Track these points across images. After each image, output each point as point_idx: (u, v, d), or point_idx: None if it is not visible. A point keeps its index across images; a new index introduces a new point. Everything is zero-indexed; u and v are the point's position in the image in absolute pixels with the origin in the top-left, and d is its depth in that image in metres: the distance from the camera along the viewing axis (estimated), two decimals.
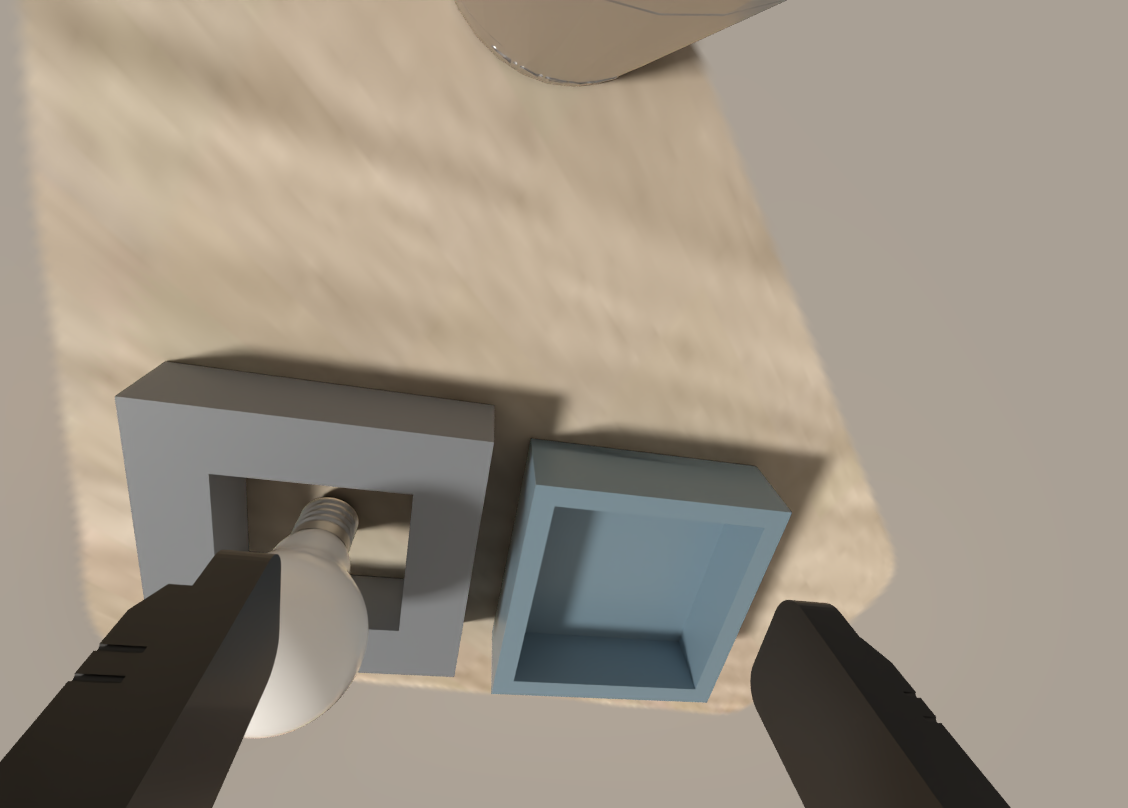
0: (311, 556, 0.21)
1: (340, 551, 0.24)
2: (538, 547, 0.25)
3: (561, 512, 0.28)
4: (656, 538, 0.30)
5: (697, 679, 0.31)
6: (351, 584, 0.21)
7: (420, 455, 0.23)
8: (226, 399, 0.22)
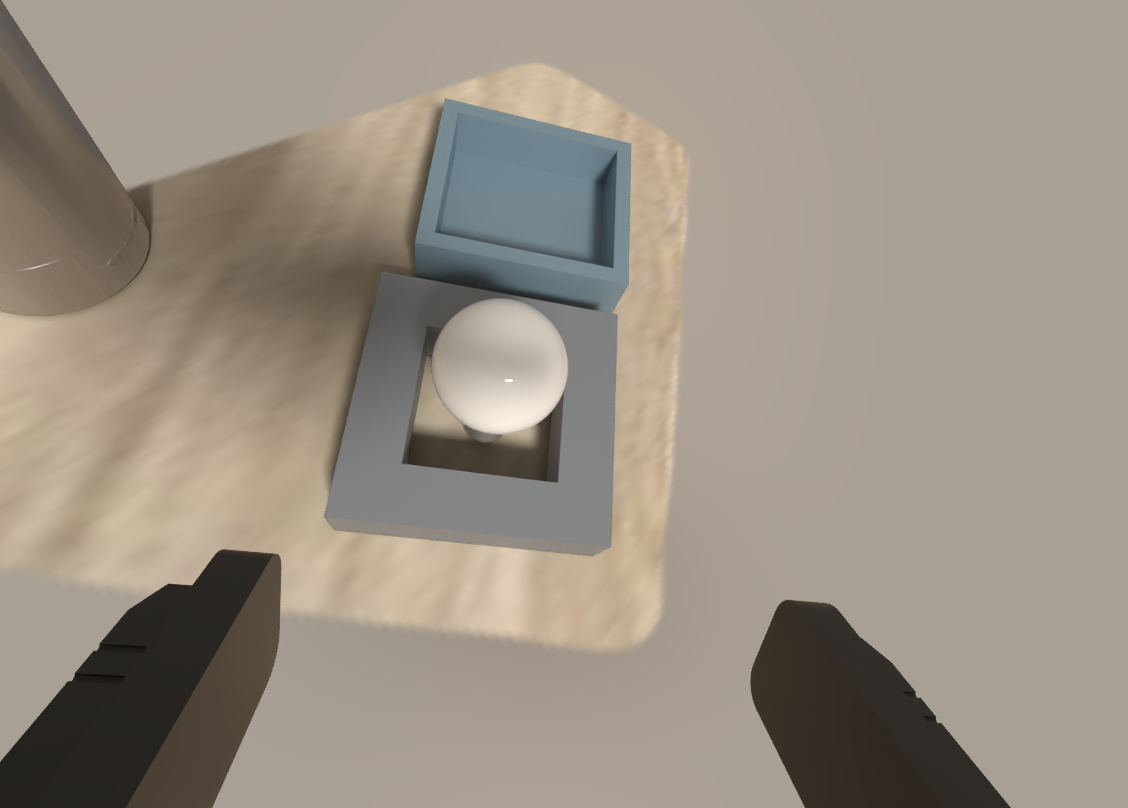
0: None
1: None
2: (473, 244, 0.33)
3: None
4: (501, 198, 0.39)
5: (609, 151, 0.39)
6: None
7: (390, 317, 0.31)
8: None
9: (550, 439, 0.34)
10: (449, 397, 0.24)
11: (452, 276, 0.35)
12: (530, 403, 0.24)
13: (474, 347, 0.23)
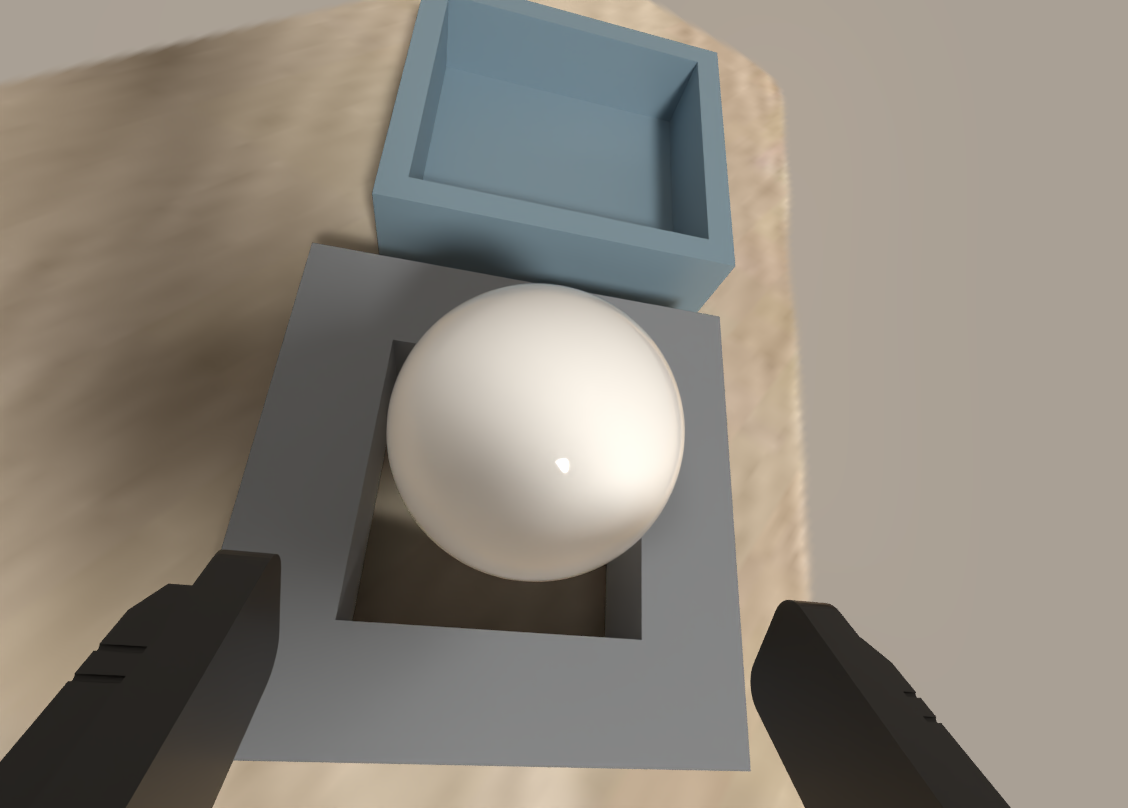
0: None
1: None
2: (475, 197, 0.19)
3: None
4: (517, 138, 0.25)
5: (684, 62, 0.25)
6: None
7: (325, 325, 0.17)
8: None
9: None
10: (424, 515, 0.10)
11: (440, 255, 0.21)
12: (615, 529, 0.10)
13: (483, 401, 0.09)
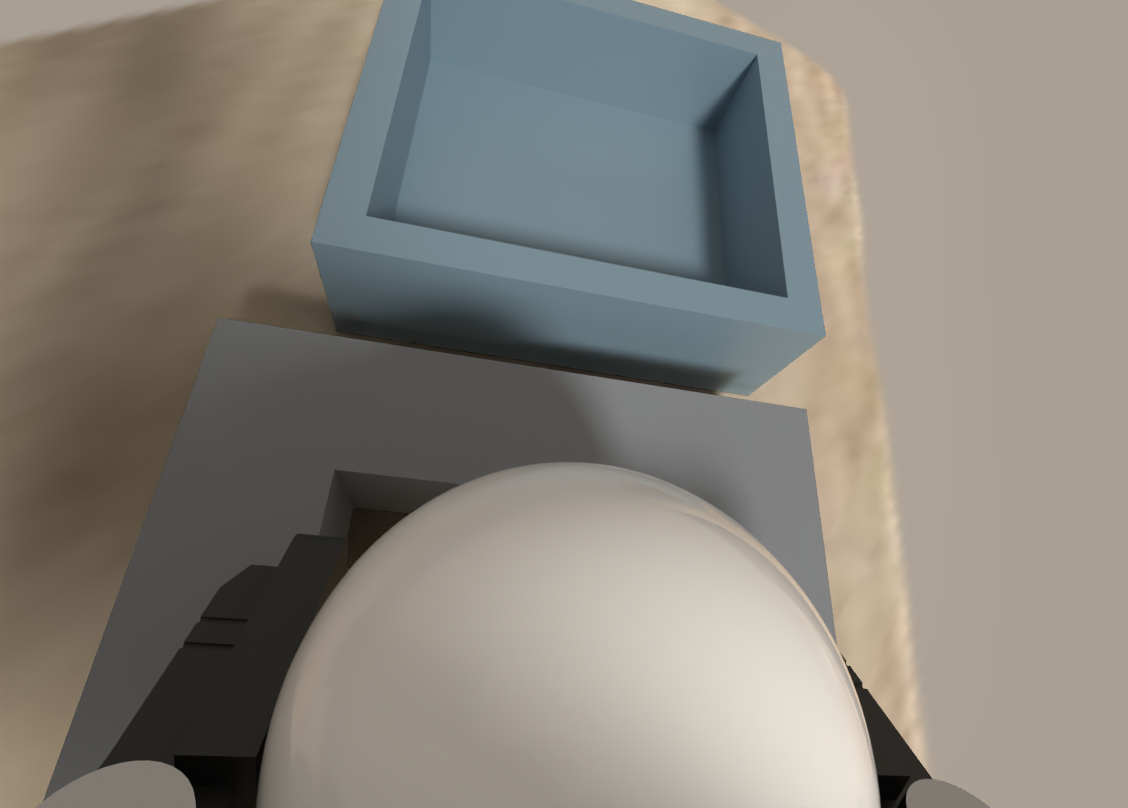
0: None
1: None
2: (463, 244, 0.13)
3: None
4: (522, 153, 0.19)
5: (739, 55, 0.19)
6: None
7: (229, 451, 0.11)
8: None
9: None
10: None
11: (416, 319, 0.15)
12: None
13: None
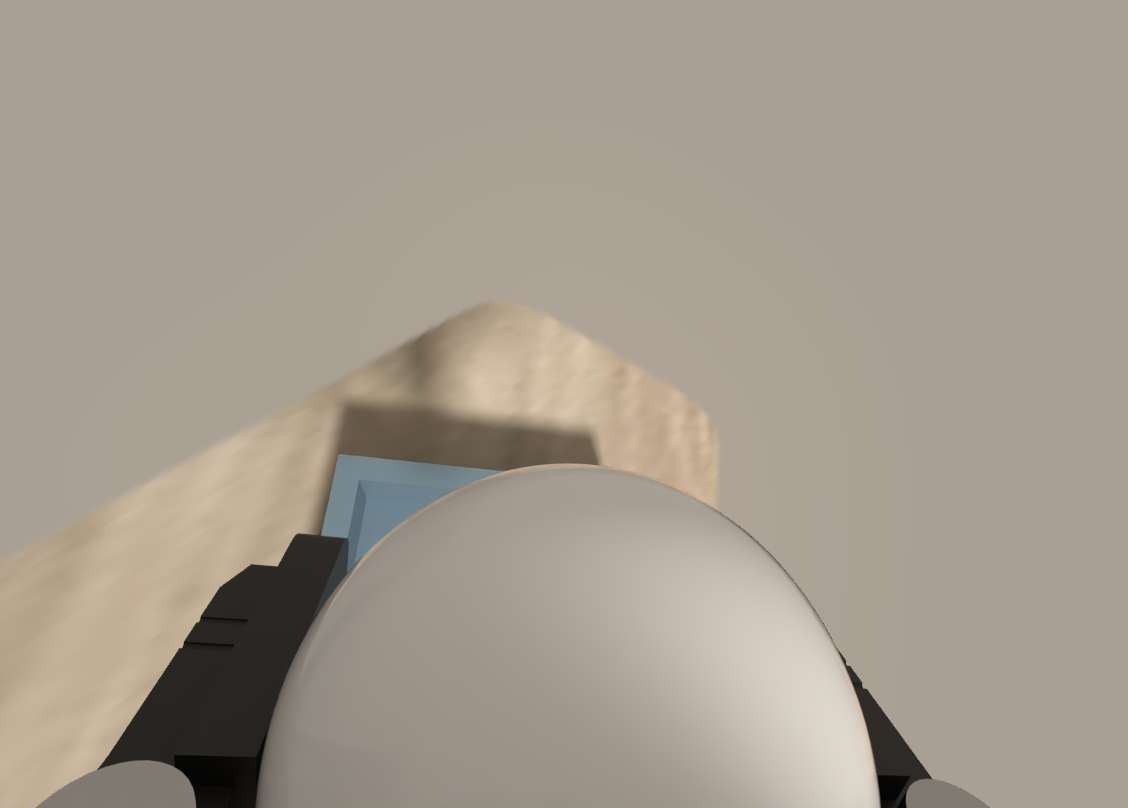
0: None
1: None
2: None
3: None
4: None
5: None
6: None
7: None
8: None
9: None
10: None
11: None
12: None
13: None
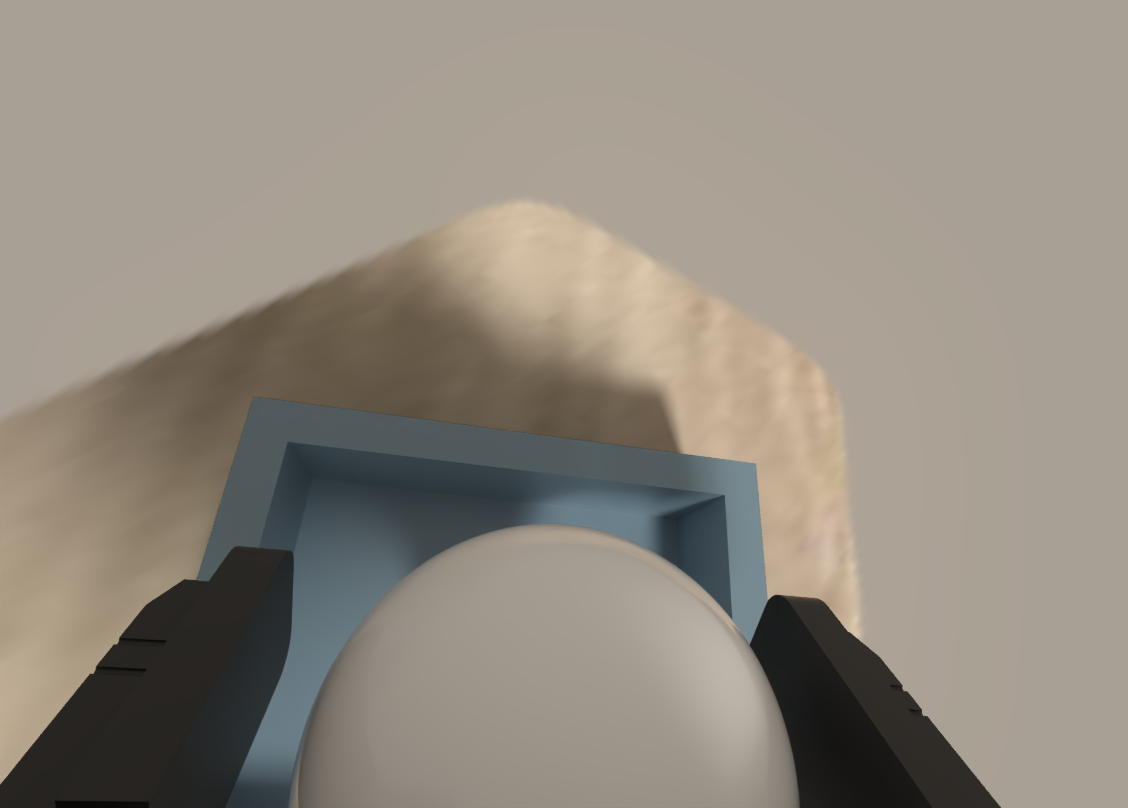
0: None
1: None
2: None
3: None
4: None
5: (702, 493, 0.15)
6: None
7: None
8: None
9: None
10: None
11: None
12: None
13: None
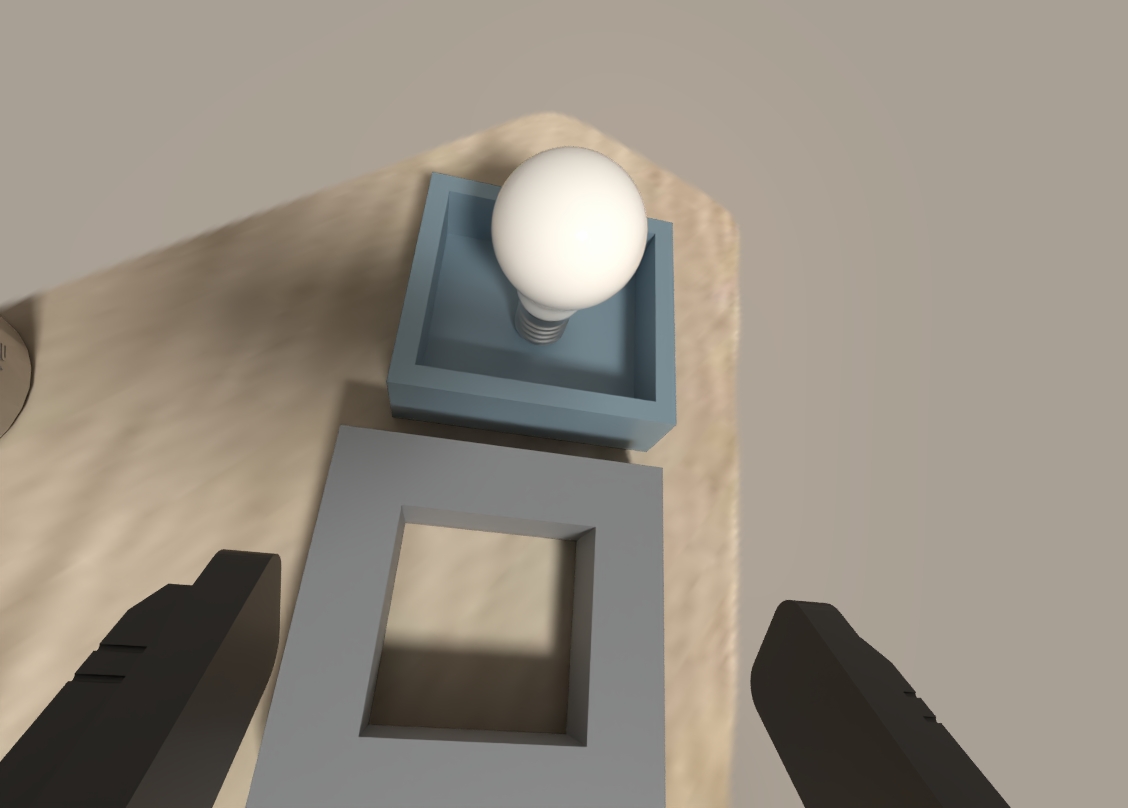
0: None
1: None
2: (467, 378, 0.24)
3: None
4: (505, 295, 0.30)
5: None
6: None
7: (350, 496, 0.22)
8: None
9: (572, 643, 0.25)
10: (514, 254, 0.21)
11: (440, 412, 0.26)
12: (609, 258, 0.21)
13: (546, 187, 0.20)
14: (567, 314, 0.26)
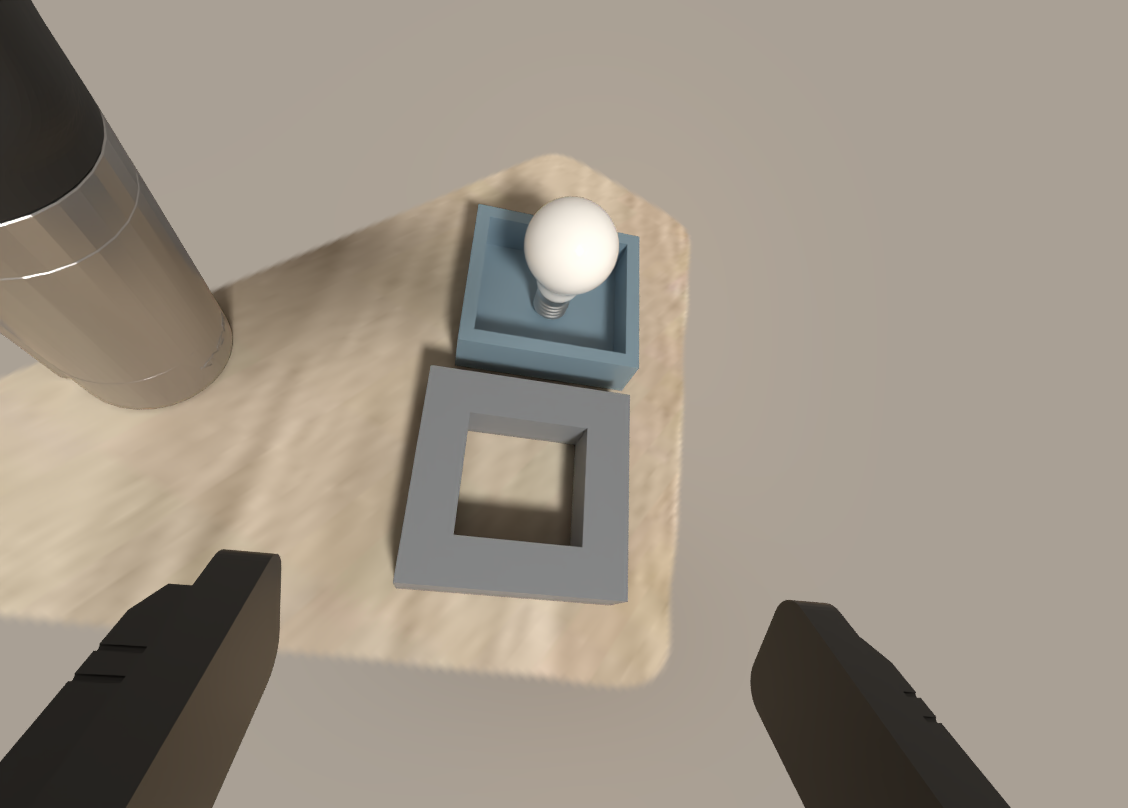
0: None
1: None
2: (506, 337, 0.39)
3: None
4: (526, 286, 0.45)
5: (620, 244, 0.45)
6: None
7: (439, 406, 0.37)
8: None
9: (573, 503, 0.39)
10: (539, 261, 0.36)
11: (487, 361, 0.41)
12: (595, 263, 0.35)
13: (559, 222, 0.35)
14: (569, 298, 0.40)
